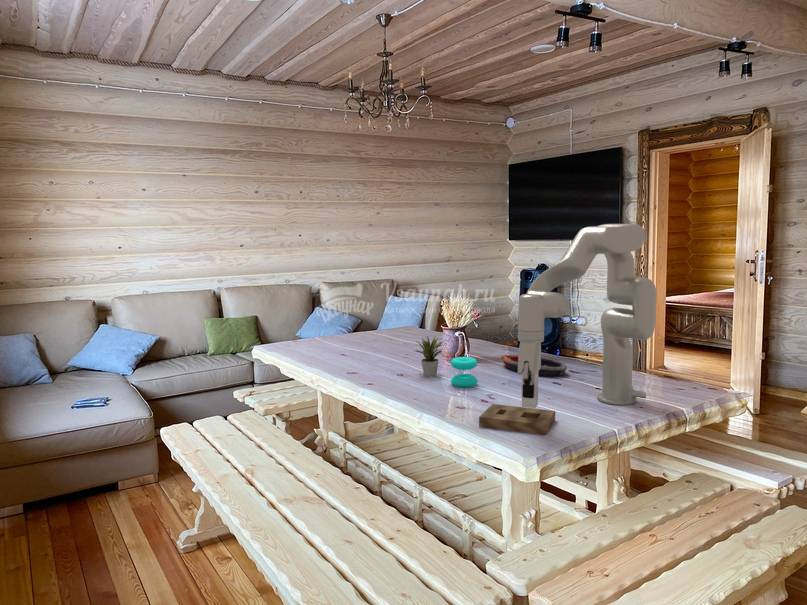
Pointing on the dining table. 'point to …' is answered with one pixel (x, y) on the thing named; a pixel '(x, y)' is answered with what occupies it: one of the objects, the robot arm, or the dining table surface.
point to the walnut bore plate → (517, 419)
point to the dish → (546, 367)
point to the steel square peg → (534, 401)
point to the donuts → (464, 379)
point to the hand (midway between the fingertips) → (529, 395)
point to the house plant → (430, 357)
